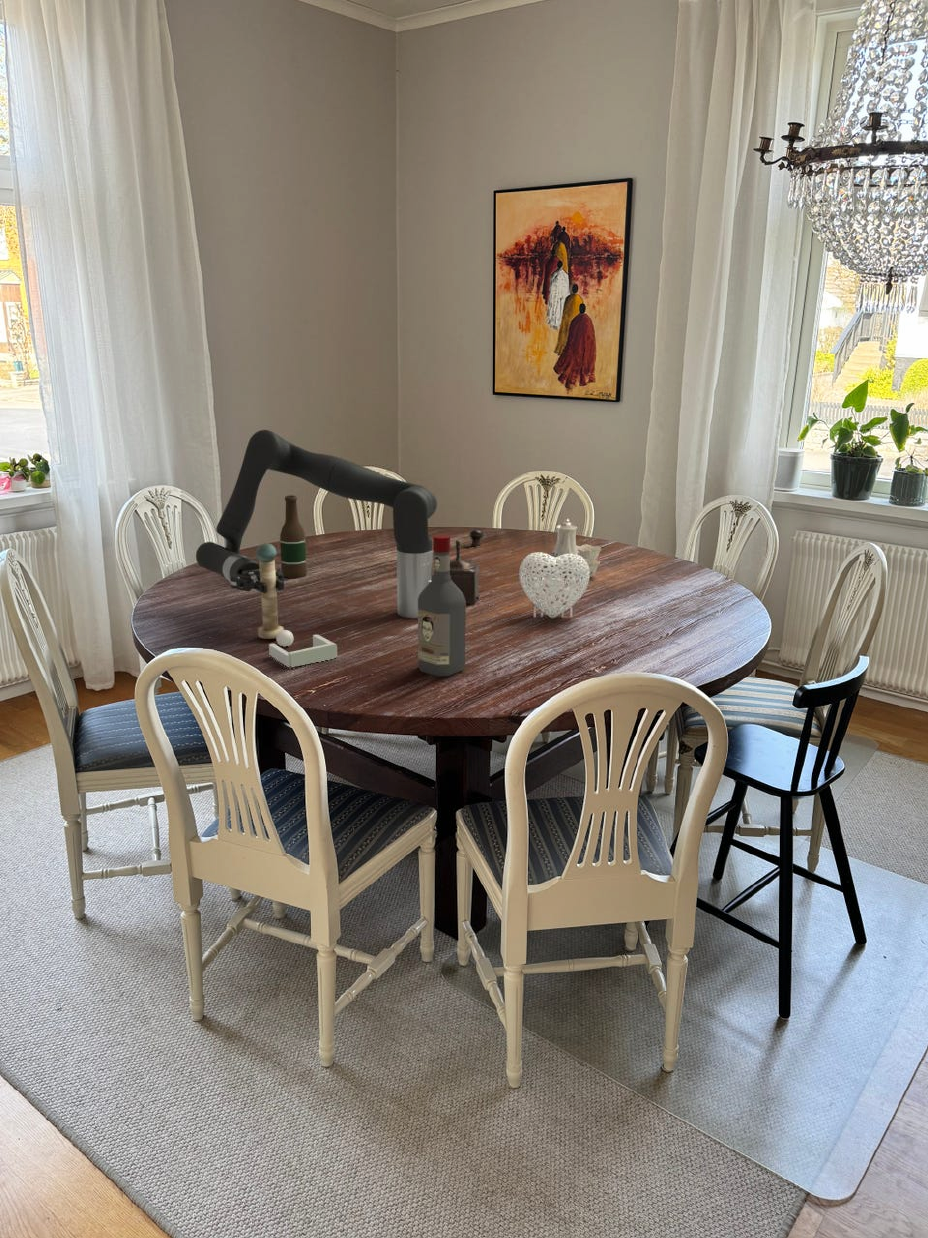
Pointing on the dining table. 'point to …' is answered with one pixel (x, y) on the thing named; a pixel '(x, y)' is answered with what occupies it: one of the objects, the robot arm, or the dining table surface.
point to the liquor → (441, 618)
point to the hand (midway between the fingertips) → (273, 587)
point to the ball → (284, 638)
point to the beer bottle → (292, 542)
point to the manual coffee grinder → (466, 570)
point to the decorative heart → (554, 581)
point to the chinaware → (575, 547)
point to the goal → (305, 653)
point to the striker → (268, 592)
